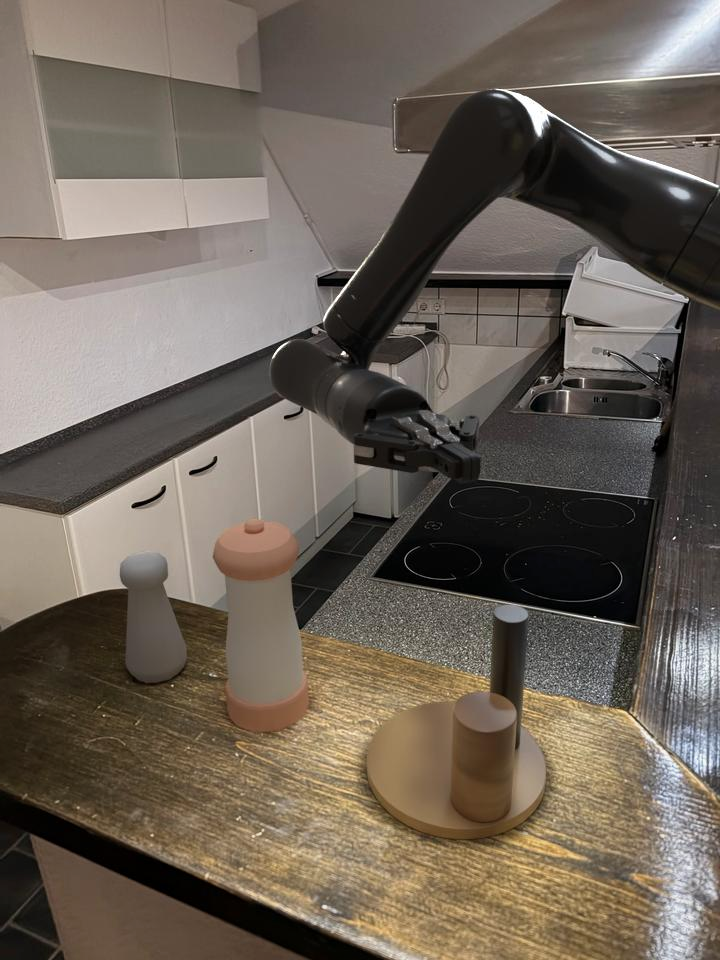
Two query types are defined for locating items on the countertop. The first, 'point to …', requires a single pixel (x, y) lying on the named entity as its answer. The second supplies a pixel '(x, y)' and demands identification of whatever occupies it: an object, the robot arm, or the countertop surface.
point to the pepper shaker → (261, 626)
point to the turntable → (465, 751)
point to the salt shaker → (150, 620)
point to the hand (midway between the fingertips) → (471, 470)
